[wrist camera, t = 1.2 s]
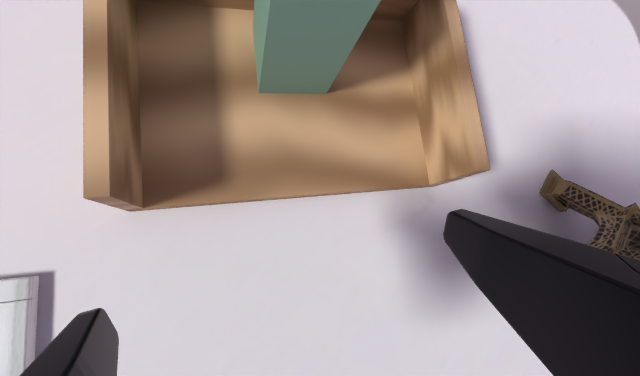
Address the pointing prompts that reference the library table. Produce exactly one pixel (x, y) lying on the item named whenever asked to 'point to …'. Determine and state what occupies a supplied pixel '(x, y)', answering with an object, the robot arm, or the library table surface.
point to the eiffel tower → (598, 215)
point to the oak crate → (269, 108)
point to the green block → (305, 42)
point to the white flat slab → (18, 323)
